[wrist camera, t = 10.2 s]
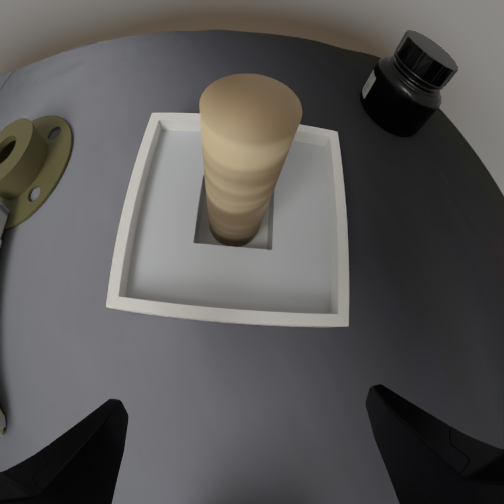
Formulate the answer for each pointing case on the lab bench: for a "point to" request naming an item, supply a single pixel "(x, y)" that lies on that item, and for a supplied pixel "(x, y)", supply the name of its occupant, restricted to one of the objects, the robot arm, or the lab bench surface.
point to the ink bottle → (408, 85)
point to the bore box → (228, 257)
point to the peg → (244, 150)
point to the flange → (31, 164)
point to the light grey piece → (0, 219)
